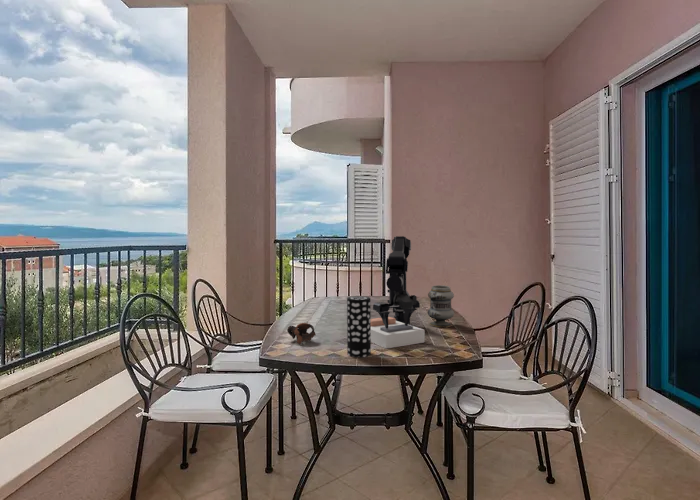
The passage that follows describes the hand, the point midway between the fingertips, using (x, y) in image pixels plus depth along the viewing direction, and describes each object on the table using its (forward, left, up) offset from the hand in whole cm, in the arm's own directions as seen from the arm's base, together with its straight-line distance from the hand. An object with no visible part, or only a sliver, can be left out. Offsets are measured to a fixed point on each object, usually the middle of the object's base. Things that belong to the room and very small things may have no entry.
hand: (396, 326), depth 168 cm
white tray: (0, -6, -6) cm, 8 cm away
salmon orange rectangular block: (0, -12, -3) cm, 12 cm away
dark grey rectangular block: (0, 0, -4) cm, 4 cm away
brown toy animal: (+32, -20, -6) cm, 38 cm away
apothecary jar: (-35, -15, -6) cm, 38 cm away
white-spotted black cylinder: (+21, +7, -6) cm, 23 cm away
